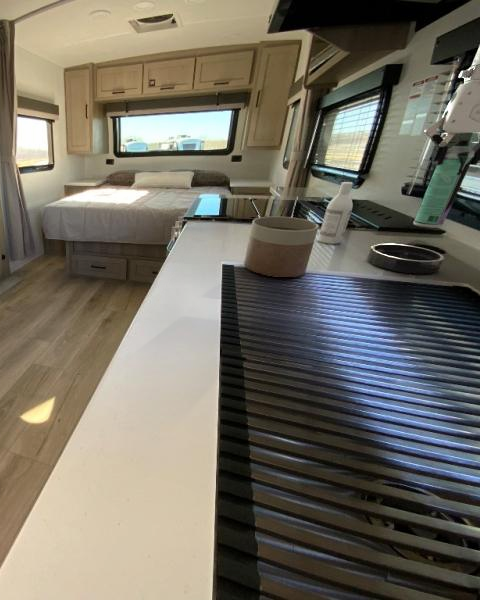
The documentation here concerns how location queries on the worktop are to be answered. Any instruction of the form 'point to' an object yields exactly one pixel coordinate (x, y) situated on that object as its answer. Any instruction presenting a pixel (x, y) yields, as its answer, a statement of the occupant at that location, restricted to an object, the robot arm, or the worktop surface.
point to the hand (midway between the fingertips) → (453, 163)
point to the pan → (405, 258)
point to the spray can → (444, 186)
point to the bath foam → (337, 216)
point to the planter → (280, 246)
